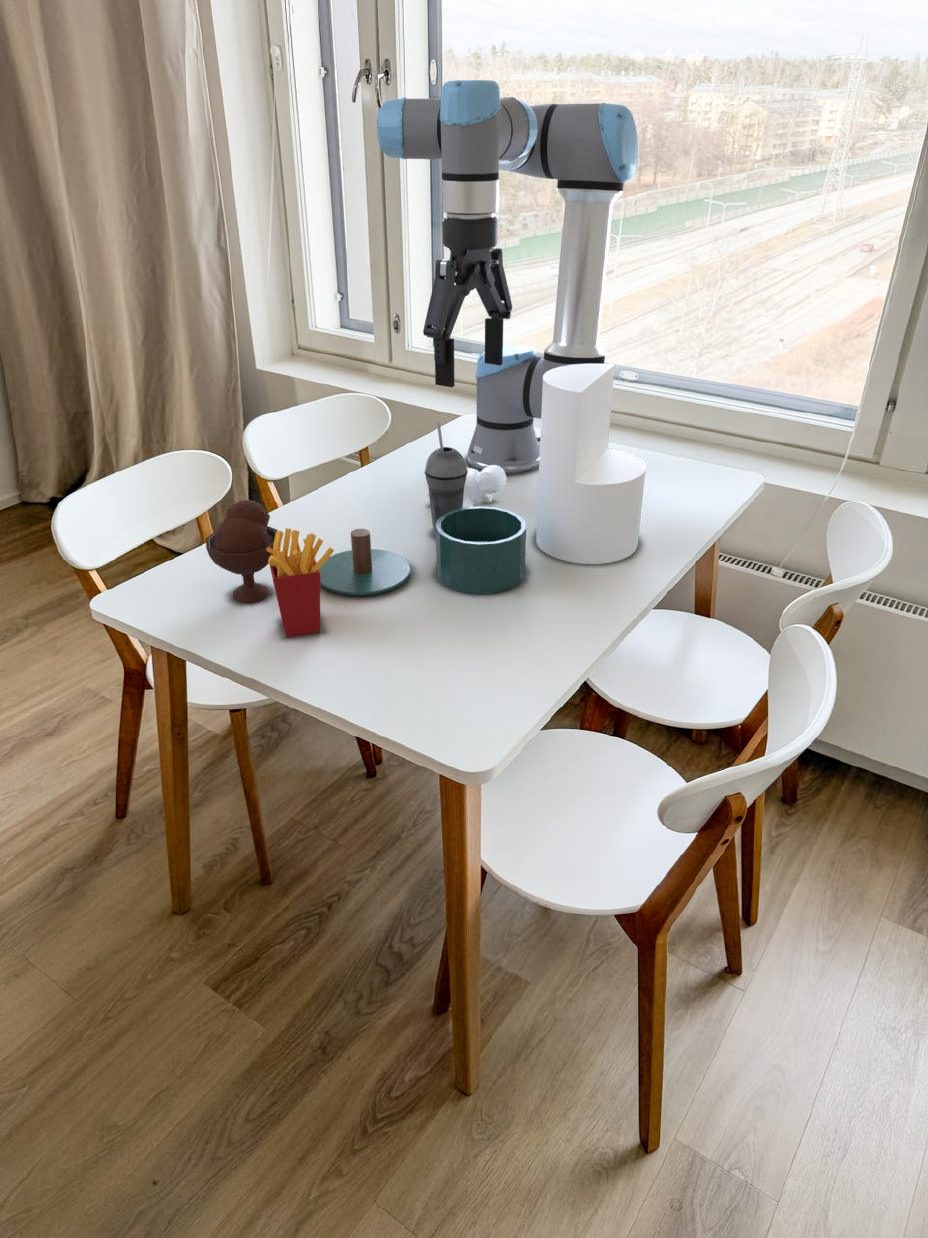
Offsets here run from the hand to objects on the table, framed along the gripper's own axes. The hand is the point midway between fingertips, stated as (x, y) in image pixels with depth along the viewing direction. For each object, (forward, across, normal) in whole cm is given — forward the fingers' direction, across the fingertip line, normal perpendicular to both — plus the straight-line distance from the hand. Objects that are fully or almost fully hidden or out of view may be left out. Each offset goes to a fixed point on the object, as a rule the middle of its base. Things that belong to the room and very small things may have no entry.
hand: (470, 374), depth 128 cm
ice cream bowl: (+31, +27, -23) cm, 47 cm away
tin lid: (+30, +13, -12) cm, 35 cm away
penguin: (+31, -19, -12) cm, 38 cm away
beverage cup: (+31, -7, -9) cm, 33 cm away
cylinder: (+31, -17, +13) cm, 38 cm away
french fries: (+31, +29, -10) cm, 44 cm away
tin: (+31, +2, +4) cm, 31 cm away
